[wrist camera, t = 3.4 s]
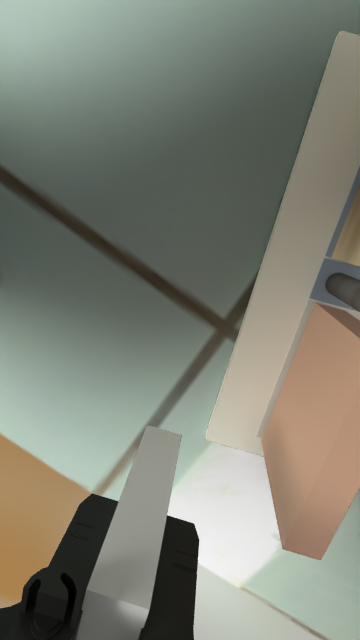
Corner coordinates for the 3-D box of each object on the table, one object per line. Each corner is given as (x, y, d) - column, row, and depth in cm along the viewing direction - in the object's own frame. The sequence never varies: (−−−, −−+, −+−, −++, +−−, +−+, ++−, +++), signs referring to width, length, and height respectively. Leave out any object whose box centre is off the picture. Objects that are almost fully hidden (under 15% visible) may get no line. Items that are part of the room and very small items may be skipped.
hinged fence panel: (315, 302, 17) (376, 351, 11) (345, 310, 17) (424, 365, 11) (261, 441, 20) (282, 548, 14) (286, 448, 20) (320, 560, 13)
